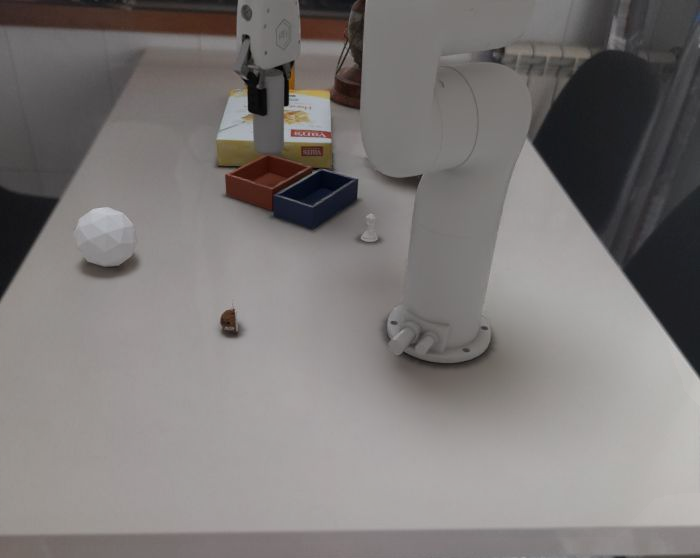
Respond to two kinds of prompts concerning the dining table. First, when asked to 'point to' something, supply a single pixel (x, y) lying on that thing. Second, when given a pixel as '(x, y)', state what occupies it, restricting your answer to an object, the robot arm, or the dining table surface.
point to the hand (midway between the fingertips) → (268, 107)
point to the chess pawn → (369, 230)
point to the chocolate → (229, 320)
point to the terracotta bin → (264, 179)
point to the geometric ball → (105, 237)
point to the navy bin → (315, 198)
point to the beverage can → (271, 116)
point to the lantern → (350, 77)
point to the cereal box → (299, 130)
